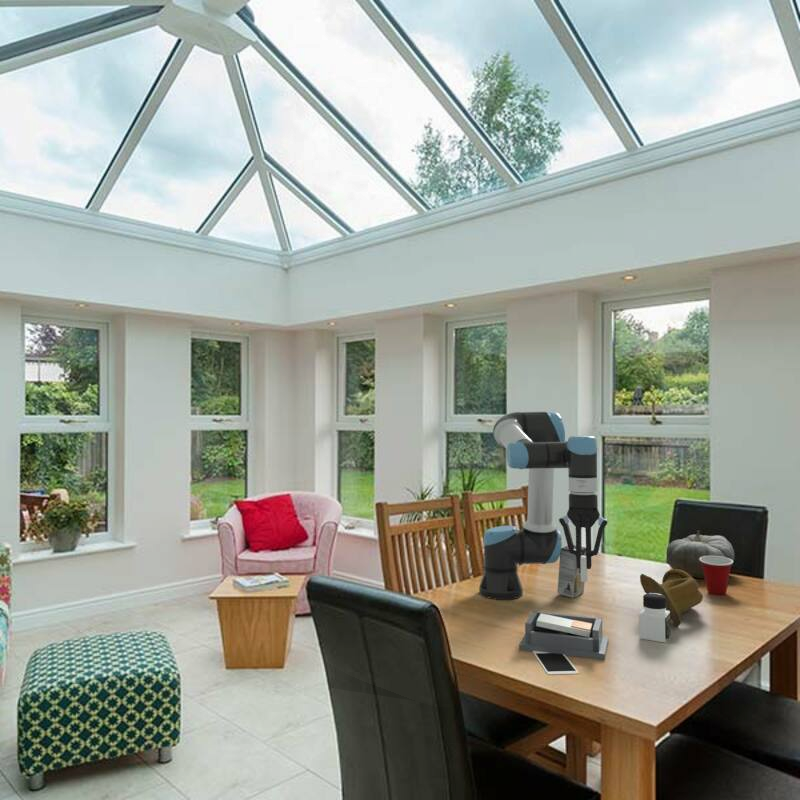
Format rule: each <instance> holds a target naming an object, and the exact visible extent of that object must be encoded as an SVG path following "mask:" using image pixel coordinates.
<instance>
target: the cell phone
mask: <svg viewBox="0 0 800 800" xmlns="http://www.w3.org/2000/svg"><path fill="white" fill-rule="evenodd" d="M532 654H533V655H534V656H535V658H536V659H537V662H539V664H540V665H541V666H542V668H543V670H544V671H545V673H546V674H547V675H548V674H549V675H551V676H554V675H553V674H565V675H577V674H576V673H579V674H580V672H579V671H578V670H577V668H576V667H575V665H574V664H573V663H572V662H571V660H570V659H569V658H568V656H566V655H564V654H556V653H548V652H539V651H532Z"/></svg>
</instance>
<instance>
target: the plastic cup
mask: <svg viewBox="0 0 800 800" xmlns="http://www.w3.org/2000/svg"><path fill="white" fill-rule="evenodd" d="M699 560H700V561H701V564H702V567H703V572H704V582H705V586H706V590H707V593H708V594H709V595H715V596H724V595H726V594H727V590H728V584H729V578H730V572H731V568H732V566H733V563H734V561H733V560H732V559H729V558H726V557H722V556H703V557H700V559H699Z"/></svg>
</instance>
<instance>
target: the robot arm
mask: <svg viewBox="0 0 800 800" xmlns="http://www.w3.org/2000/svg"><path fill="white" fill-rule="evenodd" d="M563 421H564V420H563V419H562V417H561V415H560V414H559V413H558V412H555V411H523V412H521V411H515V412H514V411H513V412H510V413H508V414H505V415H503V416H502V417H499V419H497V421H495V424H494V425H493V429H492V435H493V439H494V440H495V442H496V443H497V444H498V445H499V446H501V447H503V448H505V449H506V462H507V465H508V467H509V468H510V469H516V470H517V469H518V470H525V469H528V480H527V481H528V482H527V483H528V486H527V487H528V488H527V519H526V521H525V522H523V524H522V529H521V530H520V529H519V530H518V528H517V526H516V525H500V526H494V527H491V528H488V529H487V530H485V531H484V533H483V542H482V545H483V573H482V577H481V580H480V584H479V586H478V587H479V588H478V589H479V591H478V592H479V593H480V594H481V596H482V595H483V596H482V597H484V596H485V598H487V597H490V598H489V599H493V598H496V600H513V598H514V599H517V598H520V596H521V597H522V596H523V592H524V590H523V585H522V581H521V580H520V577H519V572H518V565H525V564H526V565H529V564H531V565H533V564H536V565H538V564H539V565H540V564H542V565H547V564H554V563H556V562H557V561H558V560H560V553H561V548H563V547H562V534H561V532H560V530H558V529H557V526H556V524H555V523H554V522H553V513H554V512H553V511H554V508H553V507H554V482H555V480H554V477H555V476H554V474H555V469H567V470H568V491H569V492H570V493H569V494H568V510H567V512H566V515H564V516H561V517H560V518H559V519H558V522H559V524H560V525H561V526H562V529H563V532H564V536H565V540H566V544H567V546H568V549H569V552H570V554H574V555H575V556H576V566H577V568H581V582H584V583H587V582H588V580H589V579H588V577H589V576H588V570H591V568H592V564H593V563H592V557H593V556H594V557H595V556H597V555H598V554H599V550H600V547H601V542H602V538H603V535H604V531H605V528H606V526H607V525H608V523H609V520H608V519H607V518H604V517H602V516H601V515H600V512H599V510H598V506H599V505H598V494H597V492H598V446H597V439H596V437H595V436H593V435H591V436H590V435H571V436H569V437H568V440H567V441H566V432H565V431H566V430H565V425H564V422H563ZM597 521H598V522H597ZM569 522H571V523H572V524H573V525H574V527H575V544H574V541H573V537H572V533H571V530H570V526H569ZM596 522H597V524H598V526H599V527H598V530H597V534H596V538H595V543H594V547H593V549H592V527H593V526H594V525H595V523H596ZM583 528H584V529H585V548H586V556H585V555H581V554H582V547H583V546H582V542H583V541H582V530H583ZM574 545H575V546H576V549H575V548H574ZM480 594H479V595H480Z"/></svg>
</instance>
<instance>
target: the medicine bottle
mask: <svg viewBox="0 0 800 800" xmlns="http://www.w3.org/2000/svg"><path fill="white" fill-rule="evenodd" d="M642 600H643V602H642V603H643V607H642V608H643V609H642V610H641V611H640V612H639V614H638V622H639V623H638V624H639V625H638V626H639V627H638V630H639V632H638V633H639V634H638V635H639V639H640V640H647V641H652V642H653V641H654V642H657V643H664V644H665V643H667V642H668V641H669V639H670V637H671V635H672V633H671V630H672V629H671V618H670V611H667V610H666V597H665V596H663V595H661V594H657V593H648V594H647V593H645V594H644V595H642Z"/></svg>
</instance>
